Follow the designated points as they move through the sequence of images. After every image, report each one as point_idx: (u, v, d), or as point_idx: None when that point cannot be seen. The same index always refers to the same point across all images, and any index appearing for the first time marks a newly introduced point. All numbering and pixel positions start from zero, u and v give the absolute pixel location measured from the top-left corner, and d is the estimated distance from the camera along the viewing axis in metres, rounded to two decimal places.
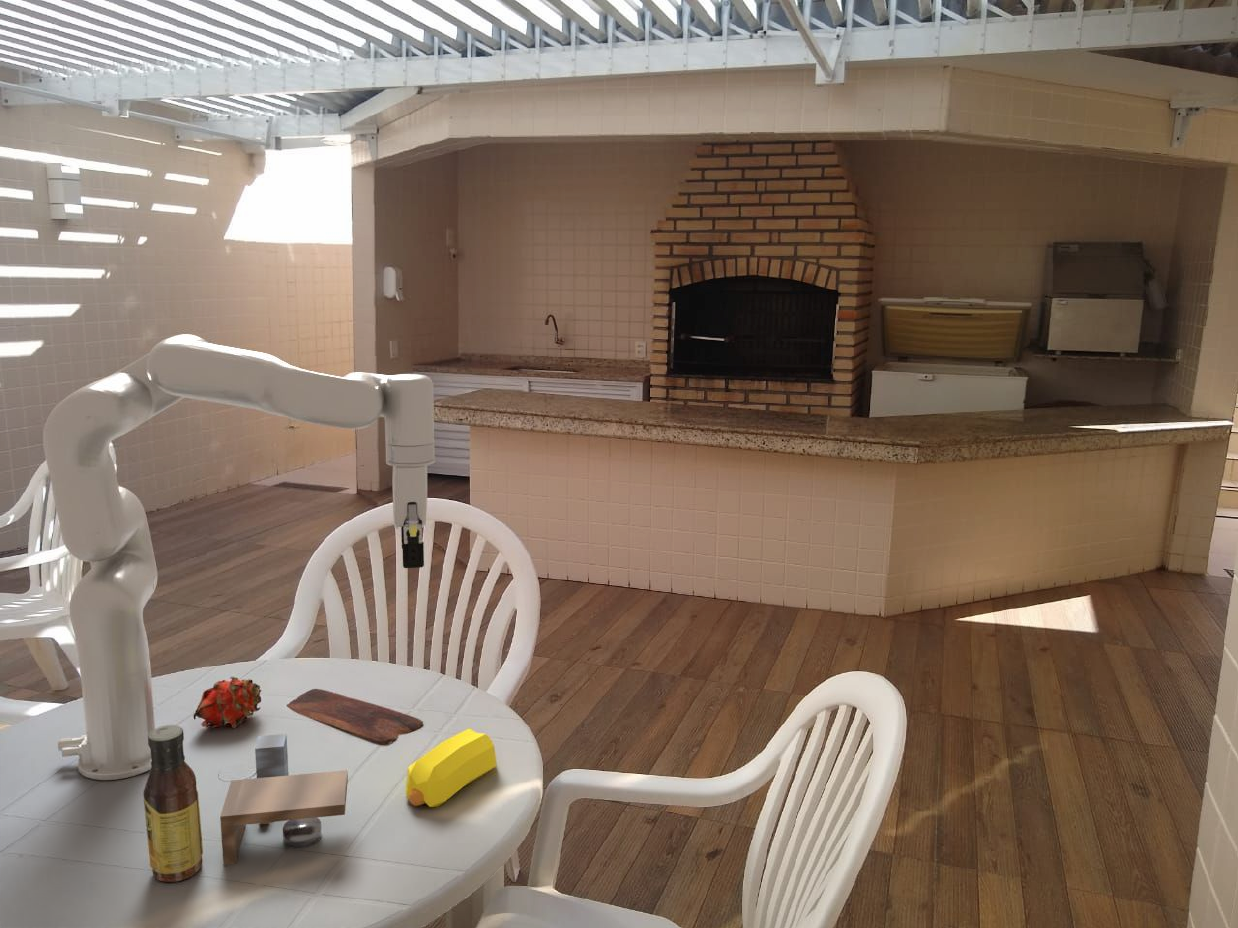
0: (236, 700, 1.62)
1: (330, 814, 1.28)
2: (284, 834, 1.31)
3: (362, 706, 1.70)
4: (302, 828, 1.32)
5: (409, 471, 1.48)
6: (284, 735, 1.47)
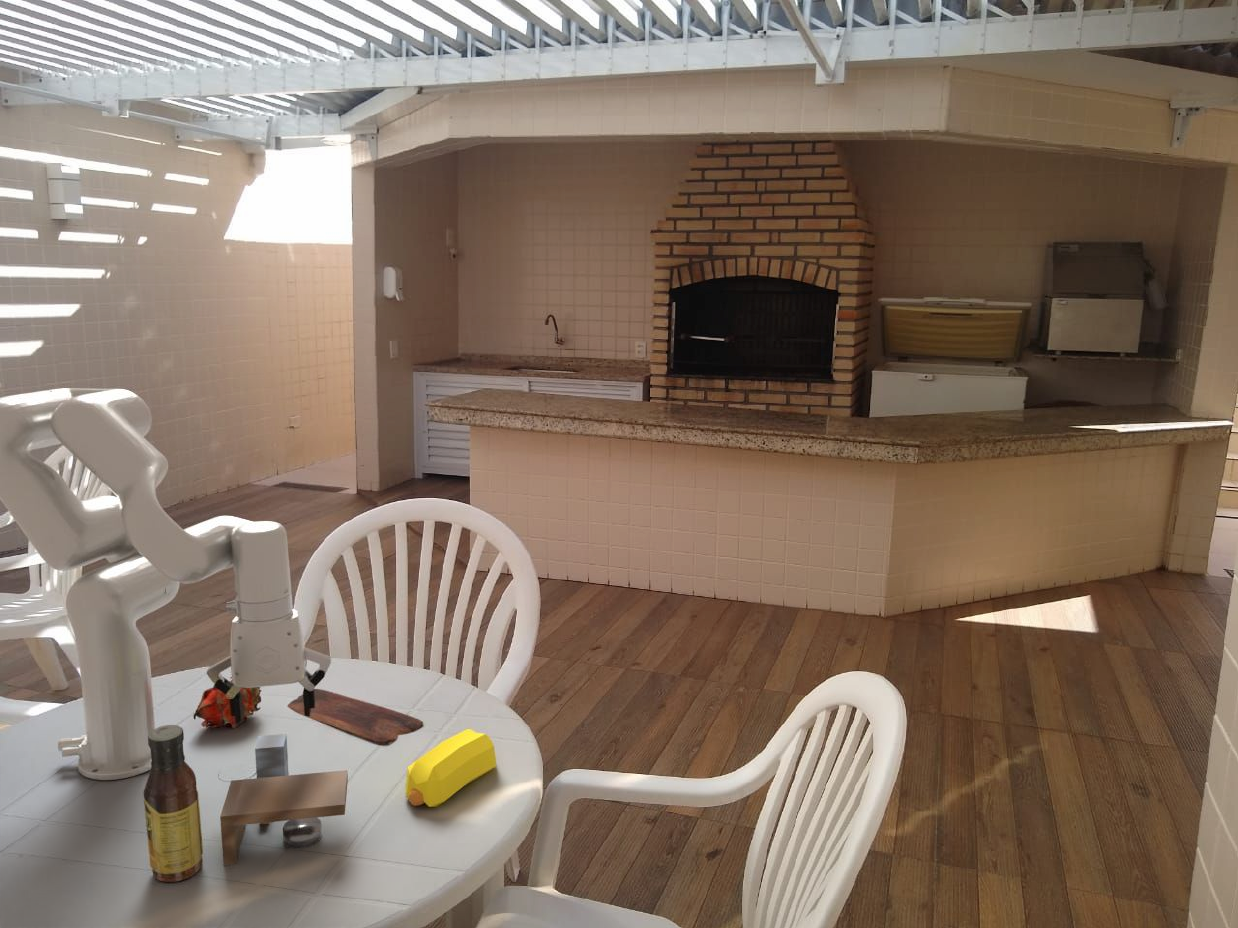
0: None
1: (330, 814, 1.28)
2: (284, 834, 1.31)
3: (362, 706, 1.70)
4: (302, 828, 1.32)
5: (298, 617, 1.41)
6: (284, 735, 1.47)
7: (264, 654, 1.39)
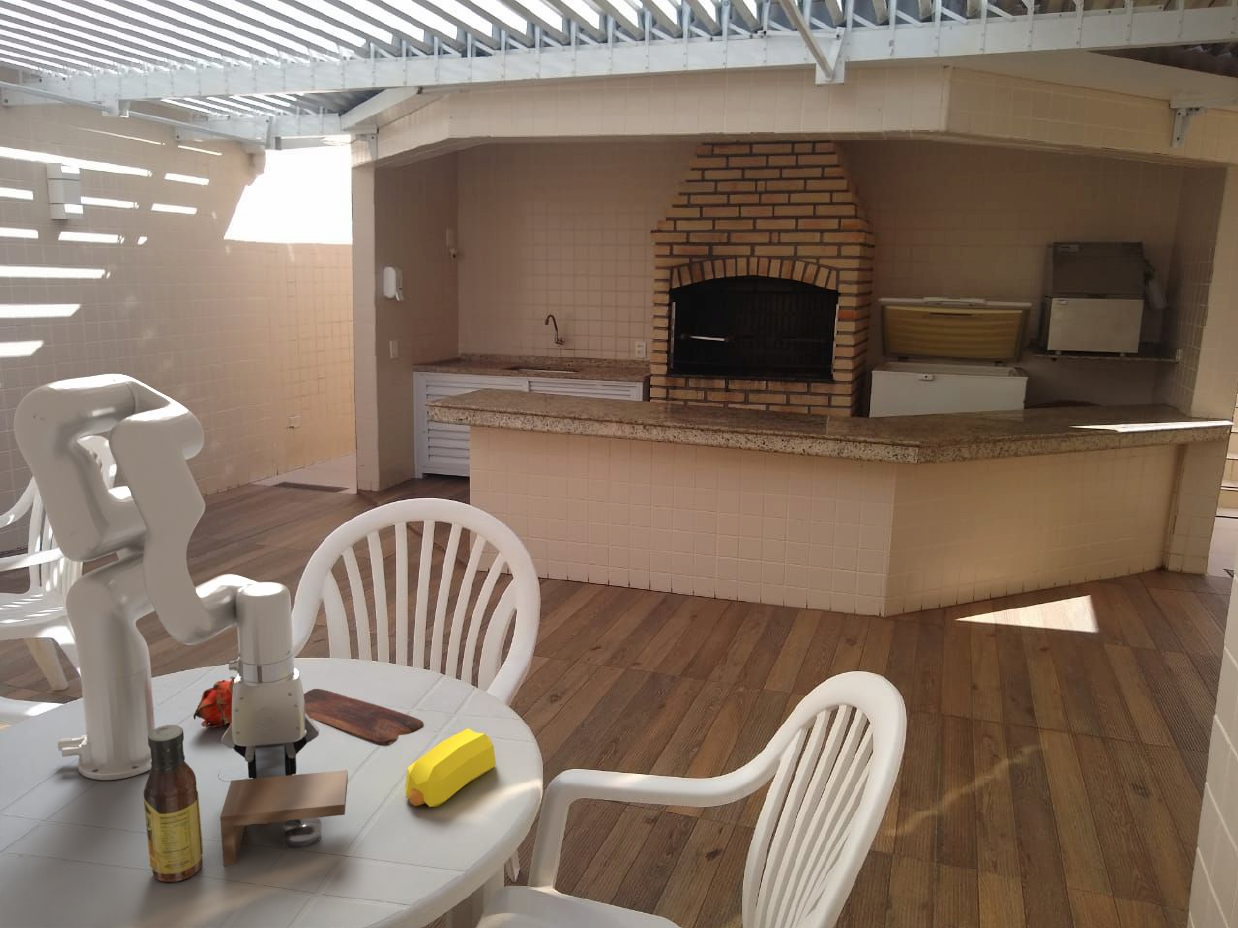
0: None
1: (330, 814, 1.28)
2: (284, 834, 1.31)
3: (362, 706, 1.70)
4: (302, 828, 1.32)
5: (299, 677, 1.43)
6: None
7: (265, 713, 1.41)
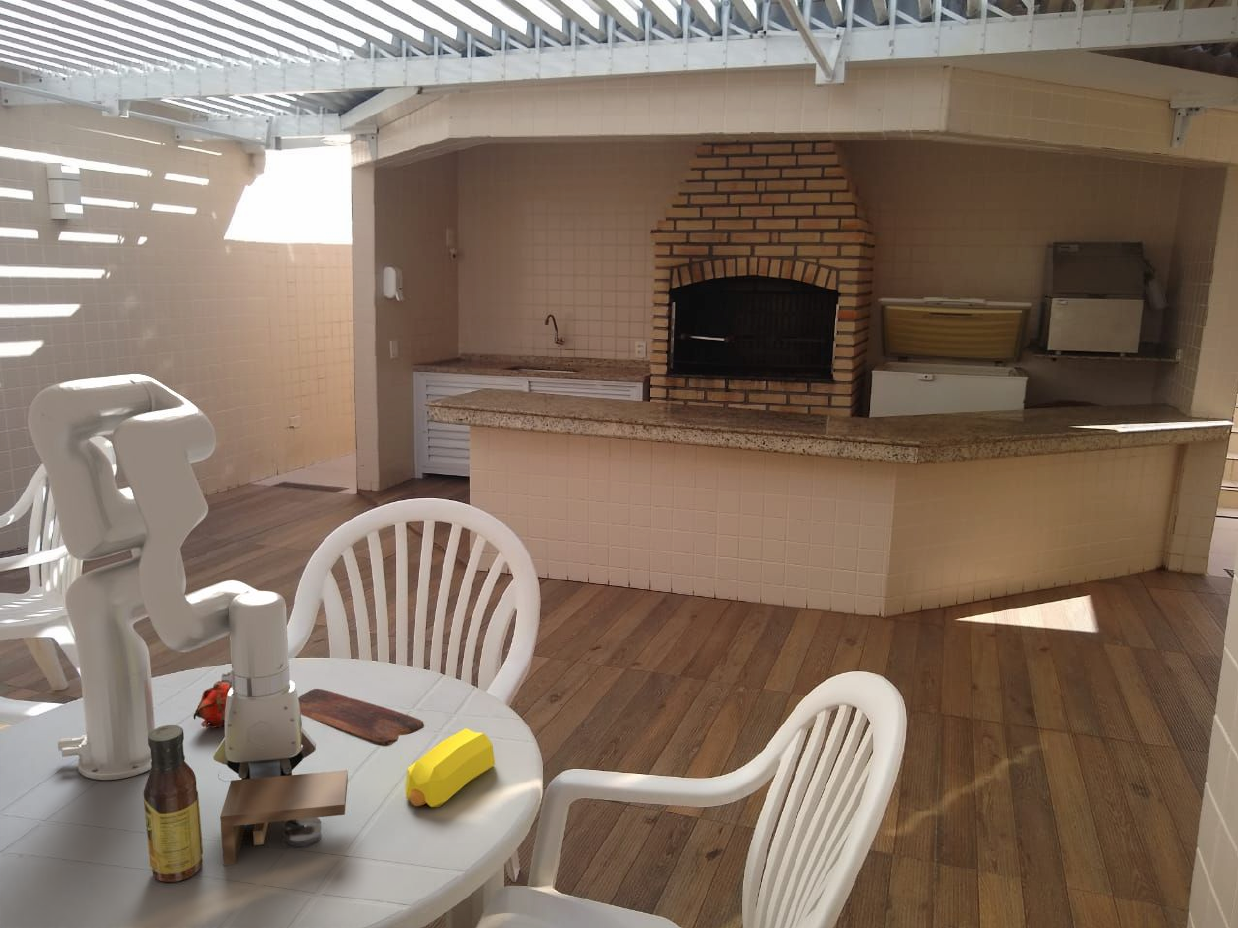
0: None
1: (330, 814, 1.28)
2: (284, 833, 1.31)
3: (363, 706, 1.70)
4: (302, 828, 1.32)
5: (295, 690, 1.38)
6: None
7: (260, 728, 1.35)
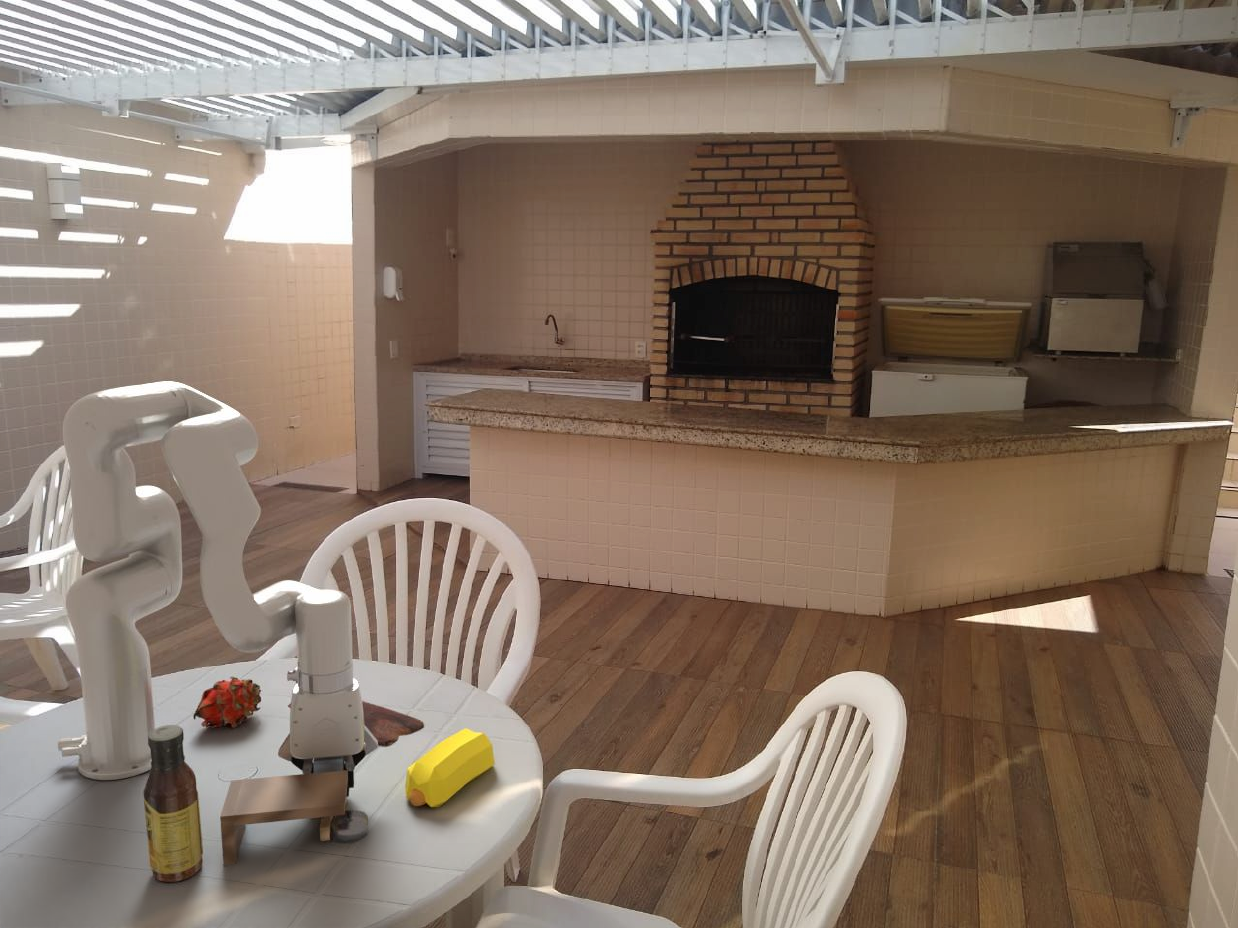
0: (236, 700, 1.62)
1: (330, 814, 1.28)
2: (332, 828, 1.33)
3: (363, 707, 1.70)
4: (350, 822, 1.33)
5: None
6: None
7: (324, 725, 1.36)
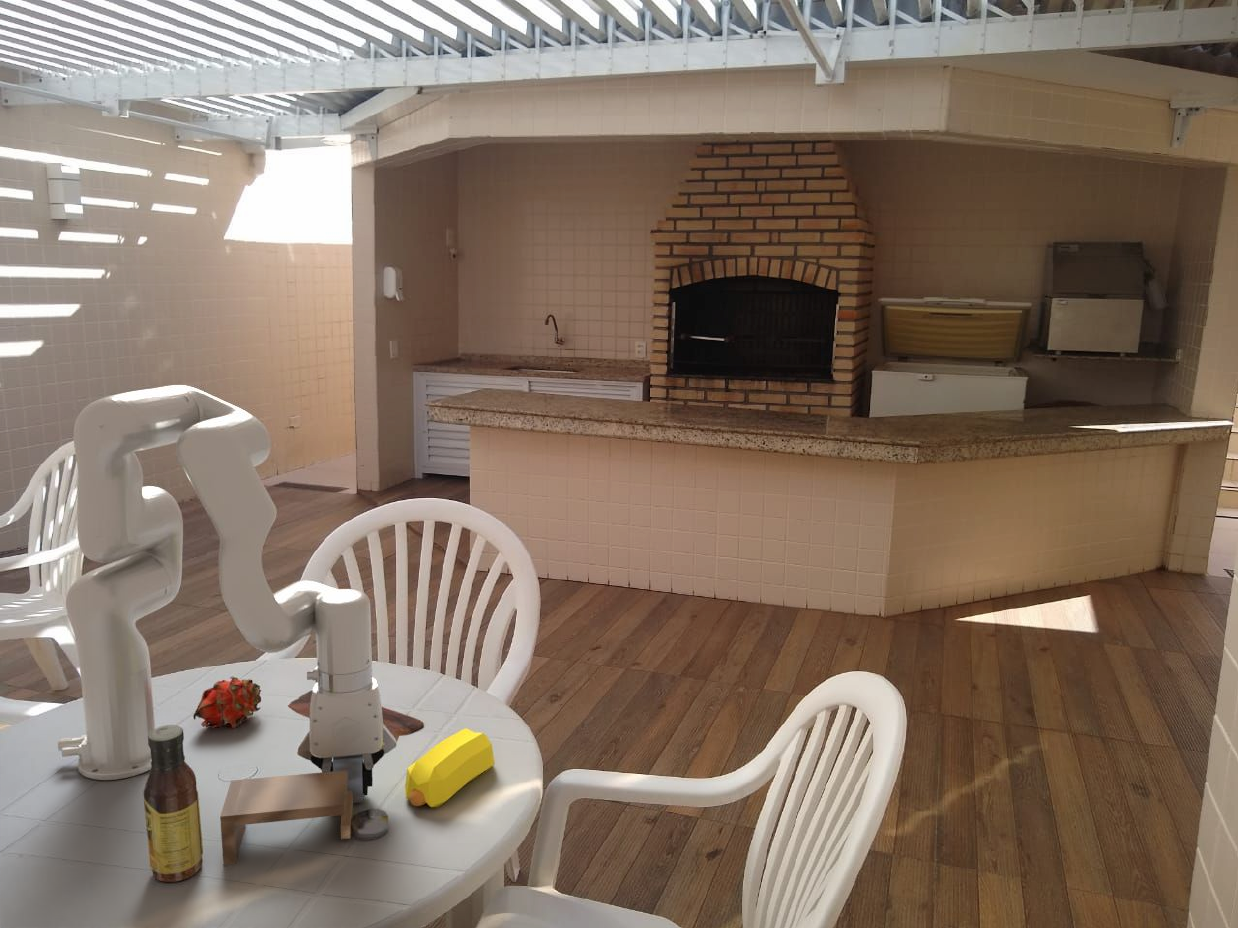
0: (236, 700, 1.62)
1: (330, 814, 1.28)
2: (352, 826, 1.33)
3: None
4: (370, 821, 1.34)
5: None
6: None
7: (344, 724, 1.37)
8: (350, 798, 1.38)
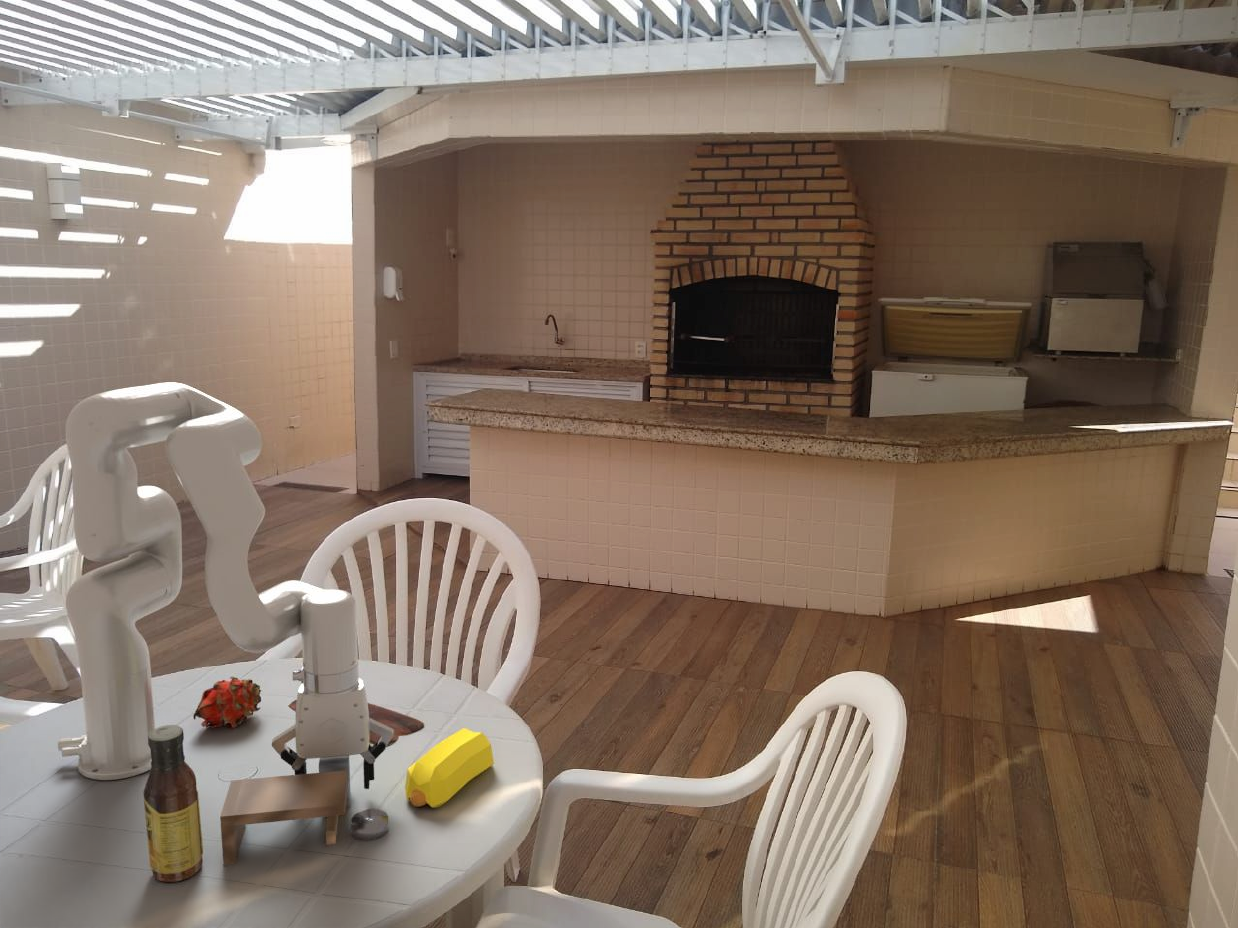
0: (236, 700, 1.62)
1: (330, 814, 1.28)
2: (352, 827, 1.33)
3: None
4: (370, 821, 1.34)
5: None
6: None
7: (330, 725, 1.37)
8: None
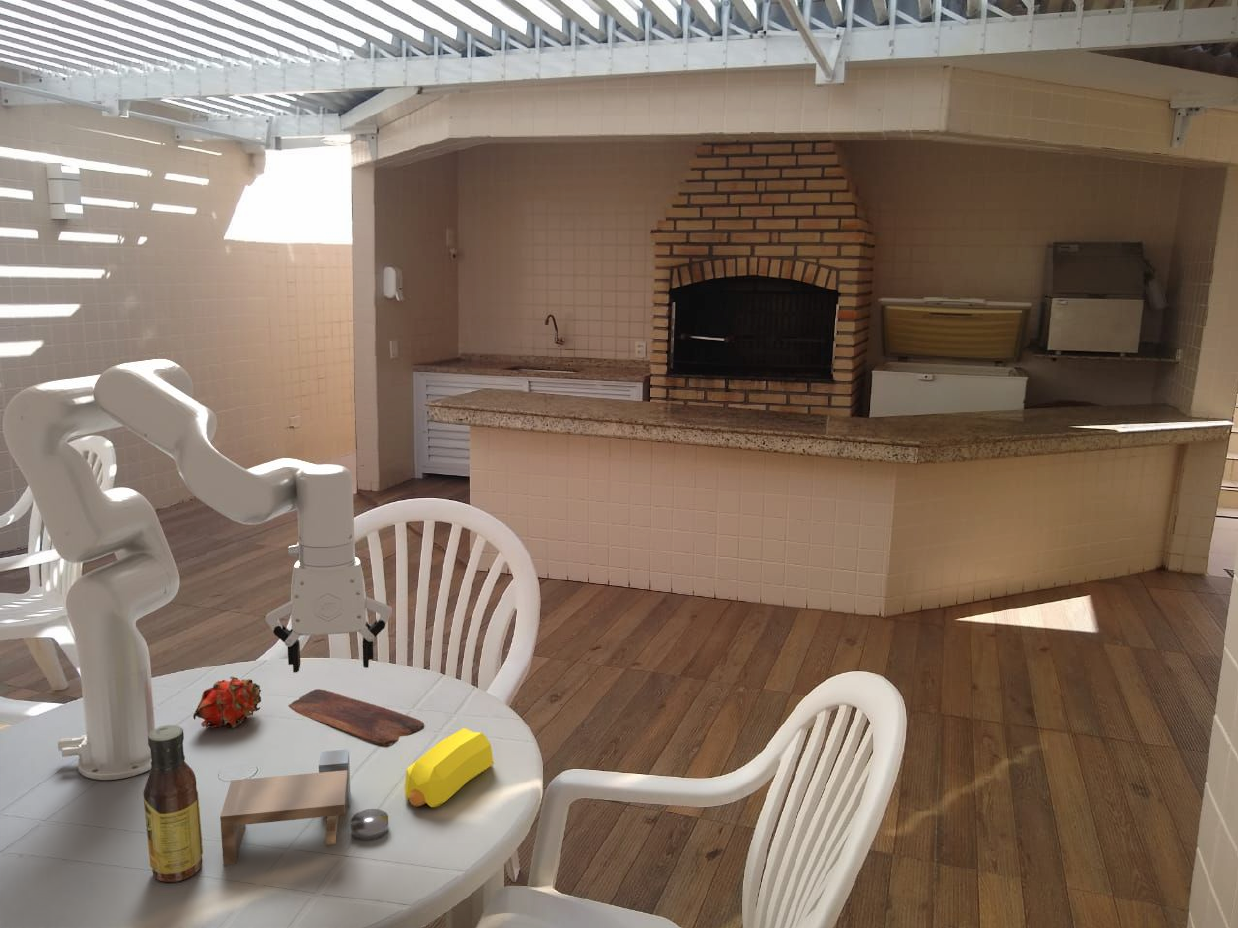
0: (236, 700, 1.62)
1: (330, 814, 1.28)
2: (352, 827, 1.33)
3: (364, 707, 1.70)
4: (370, 821, 1.34)
5: None
6: (347, 751, 1.42)
7: (326, 601, 1.35)
8: None
